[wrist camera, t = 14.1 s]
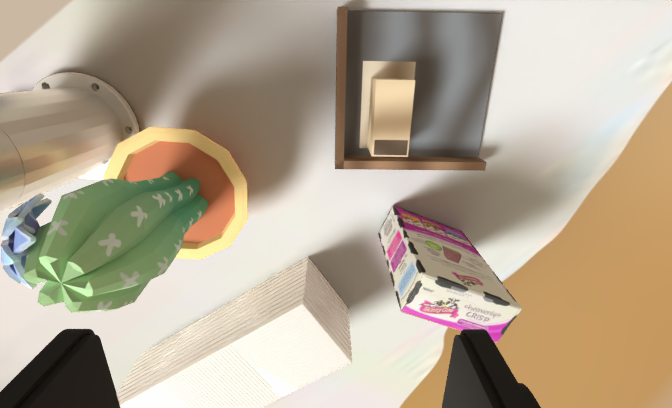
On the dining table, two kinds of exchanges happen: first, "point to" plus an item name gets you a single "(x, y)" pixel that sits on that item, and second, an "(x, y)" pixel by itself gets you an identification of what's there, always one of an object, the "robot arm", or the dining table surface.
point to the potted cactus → (129, 221)
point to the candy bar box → (443, 276)
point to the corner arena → (416, 84)
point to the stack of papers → (248, 348)
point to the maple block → (390, 116)
